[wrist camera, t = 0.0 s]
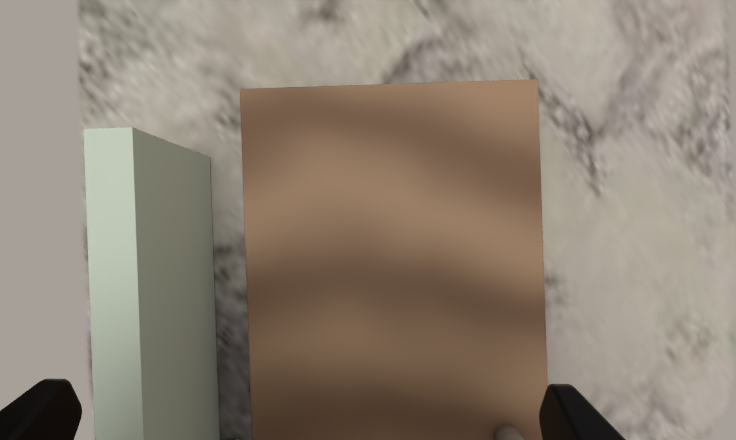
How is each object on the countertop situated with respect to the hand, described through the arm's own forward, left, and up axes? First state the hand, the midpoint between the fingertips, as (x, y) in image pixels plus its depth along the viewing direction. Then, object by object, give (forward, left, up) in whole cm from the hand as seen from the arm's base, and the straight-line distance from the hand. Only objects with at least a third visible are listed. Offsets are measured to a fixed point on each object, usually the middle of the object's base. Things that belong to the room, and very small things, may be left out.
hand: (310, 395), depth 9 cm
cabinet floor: (-1, -2, -15) cm, 15 cm away
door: (+1, +7, -15) cm, 17 cm away
